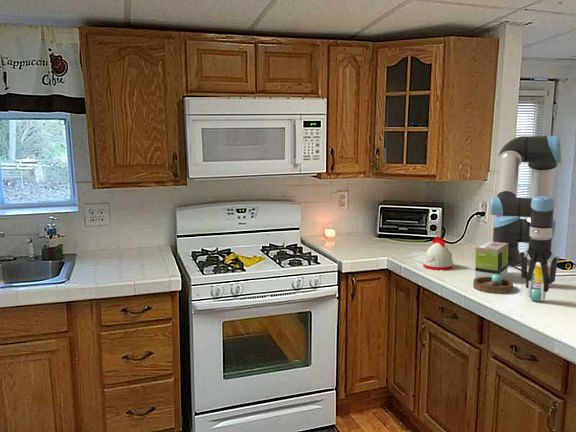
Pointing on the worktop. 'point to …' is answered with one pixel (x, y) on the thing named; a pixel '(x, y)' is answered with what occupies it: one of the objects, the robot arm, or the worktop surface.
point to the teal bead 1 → (497, 279)
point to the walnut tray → (492, 285)
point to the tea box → (491, 259)
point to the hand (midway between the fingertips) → (536, 297)
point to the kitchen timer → (438, 256)
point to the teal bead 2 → (536, 294)
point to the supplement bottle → (540, 273)
